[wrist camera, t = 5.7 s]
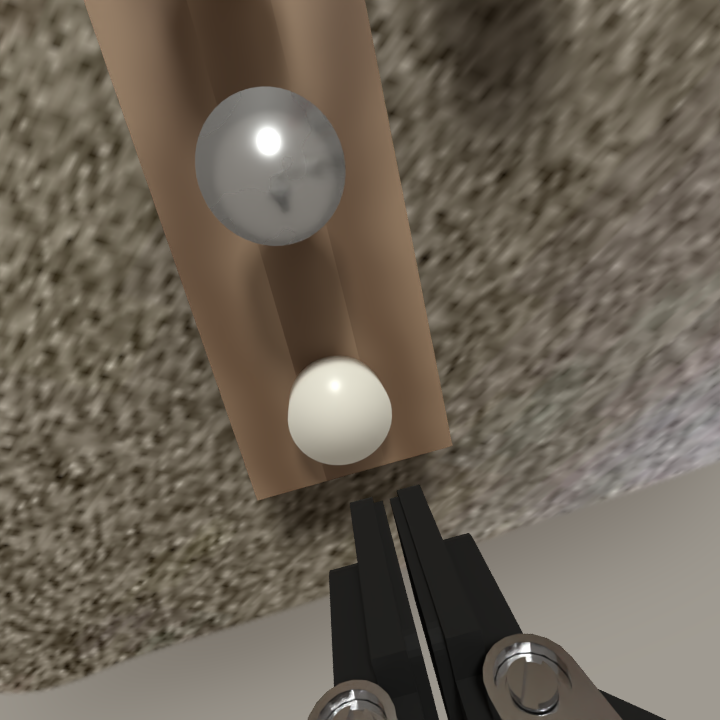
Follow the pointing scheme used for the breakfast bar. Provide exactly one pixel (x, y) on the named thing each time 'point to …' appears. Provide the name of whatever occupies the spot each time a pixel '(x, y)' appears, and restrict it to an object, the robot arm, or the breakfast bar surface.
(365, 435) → the knob
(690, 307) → the breakfast bar surface
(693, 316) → the breakfast bar surface
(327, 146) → the middle knob
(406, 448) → the knob block
